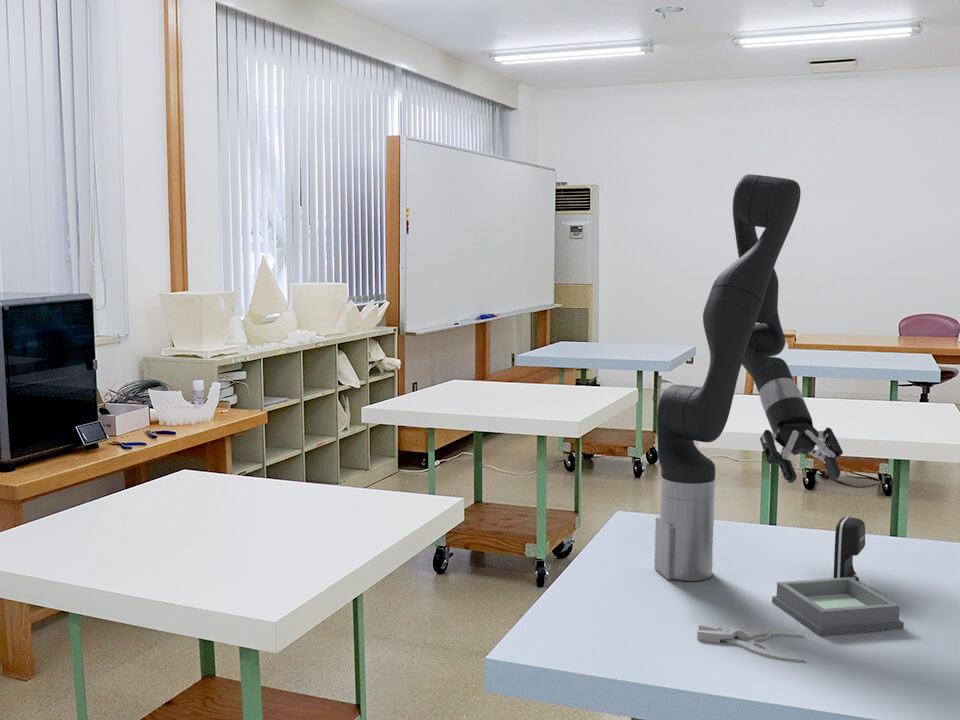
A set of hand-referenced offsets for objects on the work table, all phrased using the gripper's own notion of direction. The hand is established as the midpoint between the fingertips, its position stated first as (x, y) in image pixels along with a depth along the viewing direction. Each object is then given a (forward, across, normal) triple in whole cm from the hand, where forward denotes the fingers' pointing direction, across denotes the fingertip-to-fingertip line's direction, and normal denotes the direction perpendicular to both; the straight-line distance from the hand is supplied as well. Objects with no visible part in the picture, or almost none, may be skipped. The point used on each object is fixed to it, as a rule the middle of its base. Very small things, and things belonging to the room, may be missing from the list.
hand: (814, 479), depth 173 cm
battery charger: (+20, 0, +3) cm, 20 cm away
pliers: (+33, -28, -10) cm, 45 cm away
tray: (+28, -10, -6) cm, 30 cm away
